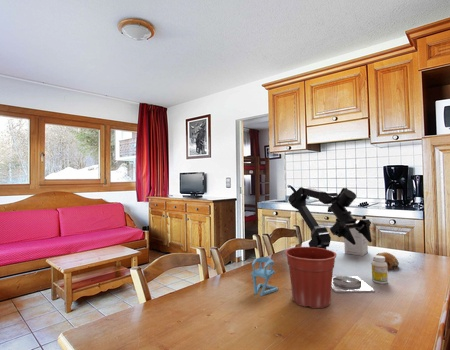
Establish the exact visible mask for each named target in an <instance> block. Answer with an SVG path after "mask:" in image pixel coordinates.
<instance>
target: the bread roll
mask: <svg viewBox="0 0 450 350" xmlns="http://www.w3.org/2000/svg"><path fill="white" fill-rule="evenodd" d="M376 255H379V256H384V257H385V261H384V262H386V263H387V270H397V268H399V263H400V262H399V261H398V258H397V257H396V256H395V255H393V254H392V253H389V252H385V251H383V252H378V253H377V254H376ZM373 261H374V259H373V258H372V262H373Z"/></svg>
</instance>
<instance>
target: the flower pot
mask: <svg viewBox="0 0 450 350" xmlns="http://www.w3.org/2000/svg"><path fill="white" fill-rule="evenodd" d="M284 254H285V255H286V258H287V264H288V268H289V269H288V270H289V277H290V278H289V279H290V287H291V294H292V296H291V297H292V300H293V302H294V303H295V304H297V305H299V306H302V307H304V308H306V307H310V308H312V309H322V308H323V309H324V308H326V307H329V306H330V303H331V301H332V299H331V298H332V288H331V287H332V277H333V275H334V274H333V273H334V268H335V263H336V262H335V260H336V257H337V253H336V252H335V251H334V250H330V249H327V248H326V249H323V248H316V247H309V246H298V247H297V246H296V247H290V248H288V249H286V250H285V251H284Z"/></svg>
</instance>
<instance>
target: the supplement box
mask: <svg viewBox="0 0 450 350" xmlns="http://www.w3.org/2000/svg"><path fill="white" fill-rule="evenodd" d="M359 221H360V220H357V221H356V223H358V222H359ZM349 230H350V232H351V234H352V236H353V238H354V240H355V243H356V244H355V245H353V244H352V243H350V242H349V241H348V240H347V239H345V238H344V237H343V238H344V241H343V242H344V253H345V254H347V255H356V256H362V257H364V256H365V255H366V254H367V253H368V252H369V247H368V240H367V239H366V238H365V237H364V236H363V234H361V233H358V232H359V231H357V230H356V229H355V228H353V229H349Z"/></svg>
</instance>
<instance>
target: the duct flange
mask: <svg viewBox="0 0 450 350" xmlns="http://www.w3.org/2000/svg"><path fill="white" fill-rule="evenodd" d="M331 291H333V293H339V294H340V293H375V292H376V290H375V288H373V287H371V286H370V285H369V284H368V283H366V282H365V281H364V280H362V279H361V278H360V277H359V276H358V275H357V276H356V275H355V276H343V275H340V276H339V275H338V276H332V287H331Z"/></svg>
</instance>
